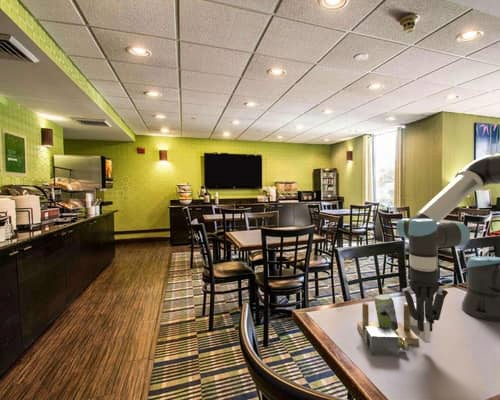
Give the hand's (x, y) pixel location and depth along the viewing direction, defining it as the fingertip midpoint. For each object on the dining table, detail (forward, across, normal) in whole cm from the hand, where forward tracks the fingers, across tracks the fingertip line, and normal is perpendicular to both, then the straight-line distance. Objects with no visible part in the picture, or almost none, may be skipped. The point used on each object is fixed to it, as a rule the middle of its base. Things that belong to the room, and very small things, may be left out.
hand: (425, 340), depth 84 cm
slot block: (+3, +14, +1) cm, 14 cm away
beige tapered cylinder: (+4, -5, -19) cm, 20 cm away
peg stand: (+3, +9, -9) cm, 13 cm away
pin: (+3, +12, +1) cm, 12 cm away
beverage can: (+1, +9, -9) cm, 12 cm away
